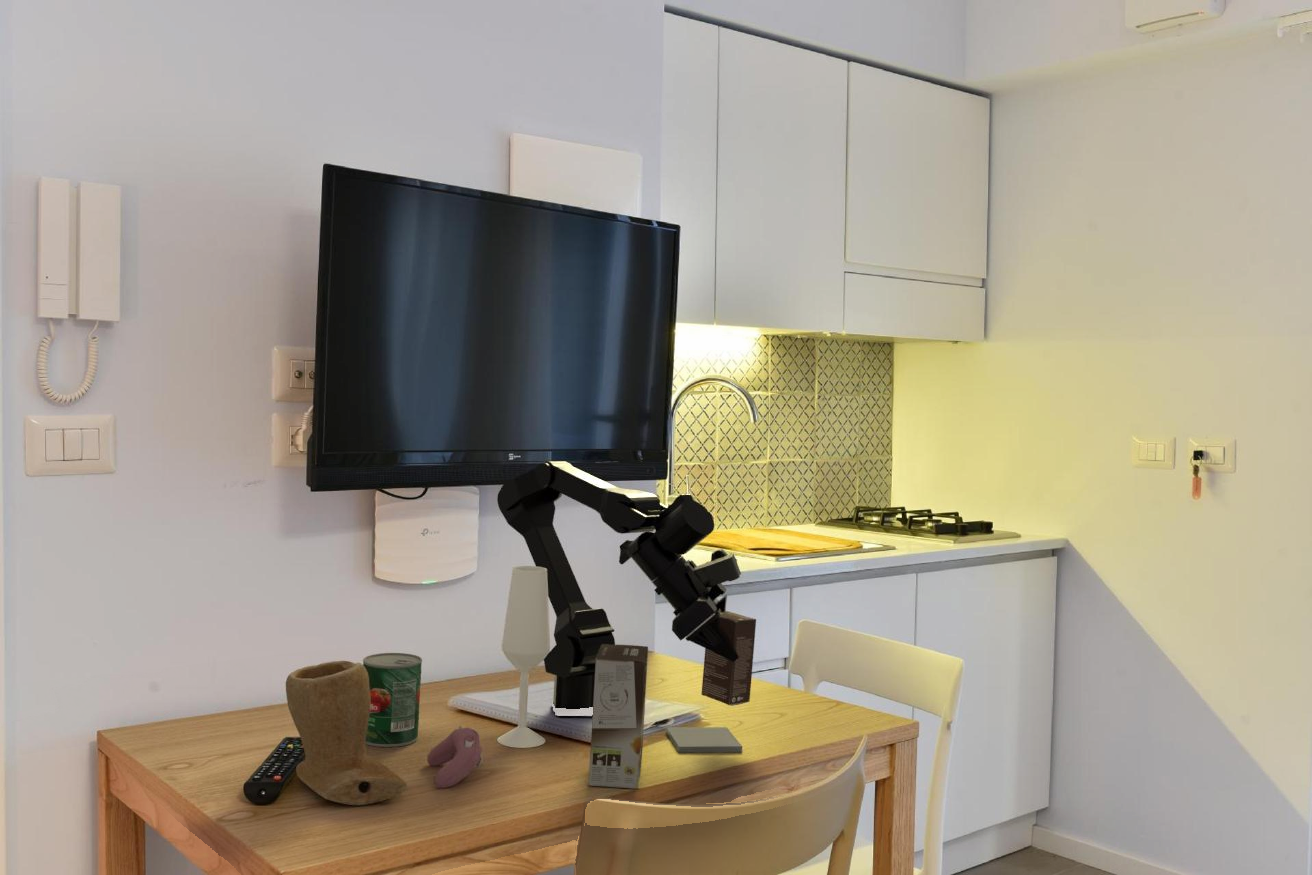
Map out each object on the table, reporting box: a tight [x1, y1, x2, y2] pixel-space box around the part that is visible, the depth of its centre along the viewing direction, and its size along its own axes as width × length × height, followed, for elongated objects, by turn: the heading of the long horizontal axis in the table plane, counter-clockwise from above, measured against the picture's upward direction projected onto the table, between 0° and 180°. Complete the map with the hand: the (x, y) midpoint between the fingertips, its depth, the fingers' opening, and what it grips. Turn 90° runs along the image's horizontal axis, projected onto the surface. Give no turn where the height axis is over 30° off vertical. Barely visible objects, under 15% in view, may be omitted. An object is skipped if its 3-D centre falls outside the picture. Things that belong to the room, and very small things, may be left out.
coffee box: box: [588, 644, 649, 790], centre depth 145 cm, size 9×6×16 cm
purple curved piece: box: [427, 725, 483, 789], centre depth 142 cm, size 10×5×7 cm, turn 17°
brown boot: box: [285, 660, 408, 806], centre depth 135 cm, size 15×12×15 cm
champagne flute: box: [496, 565, 551, 749], centre depth 158 cm, size 7×7×24 cm
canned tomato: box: [362, 652, 423, 748], centre depth 156 cm, size 8×8×11 cm
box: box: [701, 610, 757, 707], centre depth 161 cm, size 6×4×12 cm
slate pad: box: [665, 726, 743, 753], centre depth 162 cm, size 9×9×1 cm
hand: (738, 653), depth 161 cm, fingers closed on box, 7 cm apart
